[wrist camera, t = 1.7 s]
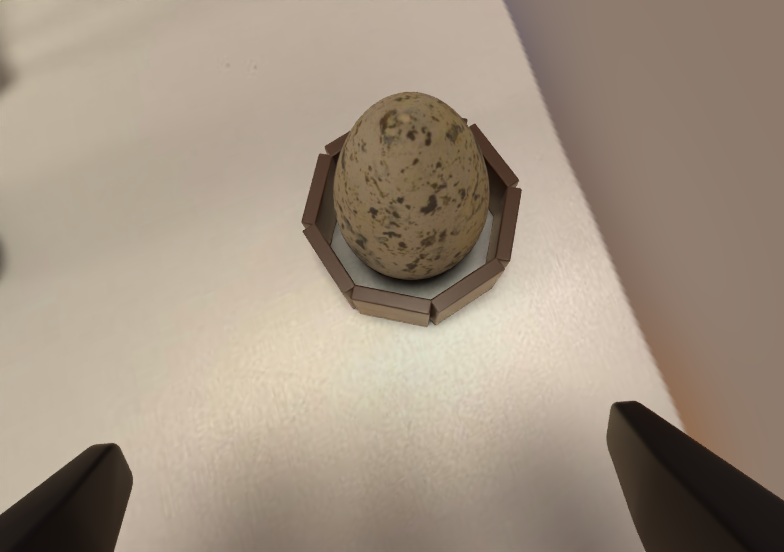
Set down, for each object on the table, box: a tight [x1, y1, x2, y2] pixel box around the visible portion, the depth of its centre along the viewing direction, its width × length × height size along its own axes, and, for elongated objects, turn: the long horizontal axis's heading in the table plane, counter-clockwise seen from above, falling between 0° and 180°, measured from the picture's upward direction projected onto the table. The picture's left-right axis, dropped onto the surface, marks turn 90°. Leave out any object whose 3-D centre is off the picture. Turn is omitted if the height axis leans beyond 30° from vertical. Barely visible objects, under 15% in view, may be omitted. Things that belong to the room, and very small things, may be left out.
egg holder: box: [302, 118, 522, 327], centre depth 22 cm, size 8×8×4 cm
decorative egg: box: [333, 92, 489, 280], centre depth 19 cm, size 6×6×10 cm
